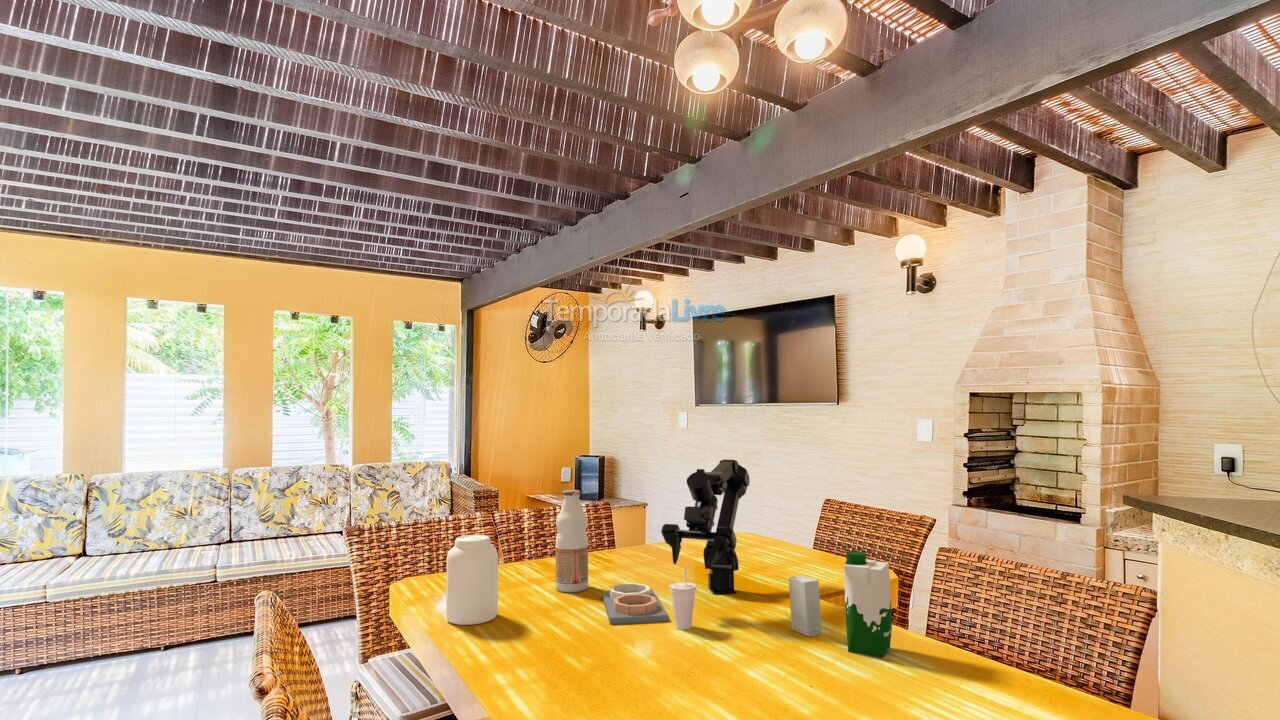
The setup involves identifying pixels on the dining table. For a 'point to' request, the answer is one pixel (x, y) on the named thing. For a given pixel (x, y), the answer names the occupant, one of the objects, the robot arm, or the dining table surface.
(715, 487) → the robot arm
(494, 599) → the white plastic jar
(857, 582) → the milk carton
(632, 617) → the board
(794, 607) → the skincare box
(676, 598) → the smoothie
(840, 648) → the dining table surface
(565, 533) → the fruit juice
